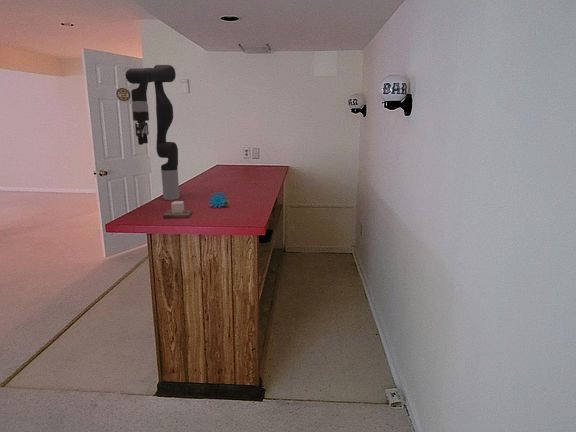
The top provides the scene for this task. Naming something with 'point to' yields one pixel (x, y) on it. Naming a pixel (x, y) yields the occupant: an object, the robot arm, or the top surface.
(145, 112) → the robot arm
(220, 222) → the top surface
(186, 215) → the board
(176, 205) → the pale grey cube block
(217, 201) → the blue piece
